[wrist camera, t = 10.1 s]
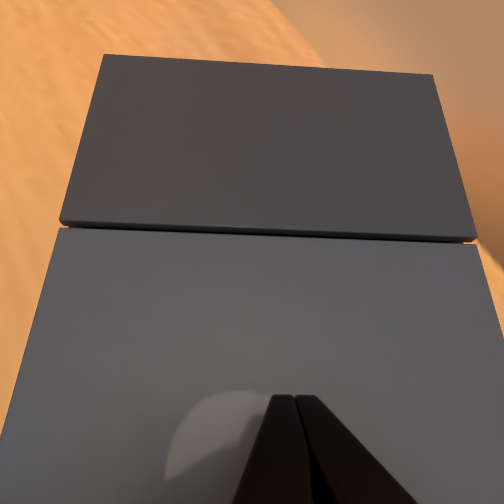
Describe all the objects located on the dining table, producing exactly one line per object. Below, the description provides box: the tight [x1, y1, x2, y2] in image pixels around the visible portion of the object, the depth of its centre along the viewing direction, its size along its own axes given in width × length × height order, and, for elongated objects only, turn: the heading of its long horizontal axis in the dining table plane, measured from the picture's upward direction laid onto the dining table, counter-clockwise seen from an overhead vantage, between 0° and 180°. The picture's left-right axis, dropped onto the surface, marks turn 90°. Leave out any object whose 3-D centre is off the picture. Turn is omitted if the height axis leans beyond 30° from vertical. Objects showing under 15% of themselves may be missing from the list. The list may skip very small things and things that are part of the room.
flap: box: [0, 228, 504, 504], centre depth 10 cm, size 7×13×1 cm, turn 89°
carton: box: [59, 54, 478, 244], centre depth 15 cm, size 15×13×8 cm
